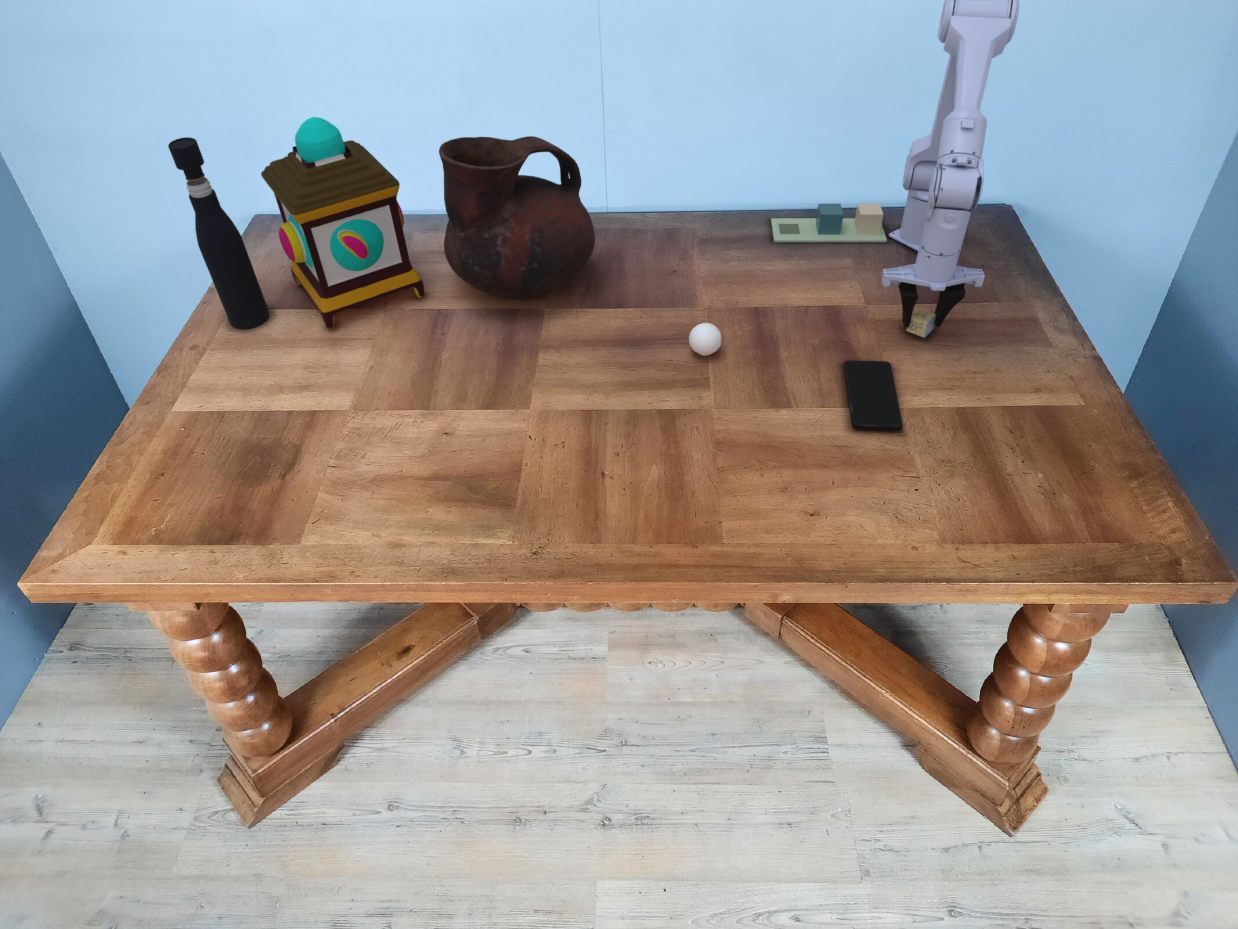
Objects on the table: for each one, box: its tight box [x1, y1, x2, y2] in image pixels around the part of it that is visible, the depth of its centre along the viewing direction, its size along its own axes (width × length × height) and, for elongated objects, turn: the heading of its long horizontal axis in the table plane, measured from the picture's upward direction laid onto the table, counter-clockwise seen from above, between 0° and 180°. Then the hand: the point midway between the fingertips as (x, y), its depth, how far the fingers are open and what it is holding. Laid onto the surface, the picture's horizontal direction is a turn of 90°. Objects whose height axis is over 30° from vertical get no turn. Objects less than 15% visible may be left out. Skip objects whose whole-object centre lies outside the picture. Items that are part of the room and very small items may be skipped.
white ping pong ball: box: [688, 322, 722, 357], centre depth 134 cm, size 5×5×5 cm
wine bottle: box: [168, 136, 270, 330], centre depth 136 cm, size 6×6×30 cm
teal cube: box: [815, 203, 845, 235], centre depth 159 cm, size 4×4×4 cm
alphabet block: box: [905, 307, 936, 339], centre depth 137 cm, size 3×3×3 cm
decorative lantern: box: [260, 116, 425, 330], centre depth 140 cm, size 20×20×30 cm
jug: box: [438, 135, 596, 300], centre depth 143 cm, size 25×25×25 cm
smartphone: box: [843, 359, 904, 432], centre depth 126 cm, size 7×1×15 cm
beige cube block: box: [854, 203, 884, 234], centre depth 159 cm, size 4×4×4 cm
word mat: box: [770, 217, 888, 243], centre depth 160 cm, size 20×8×1 cm, turn 87°
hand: (920, 323), depth 137 cm, fingers closed on alphabet block, 4 cm apart
